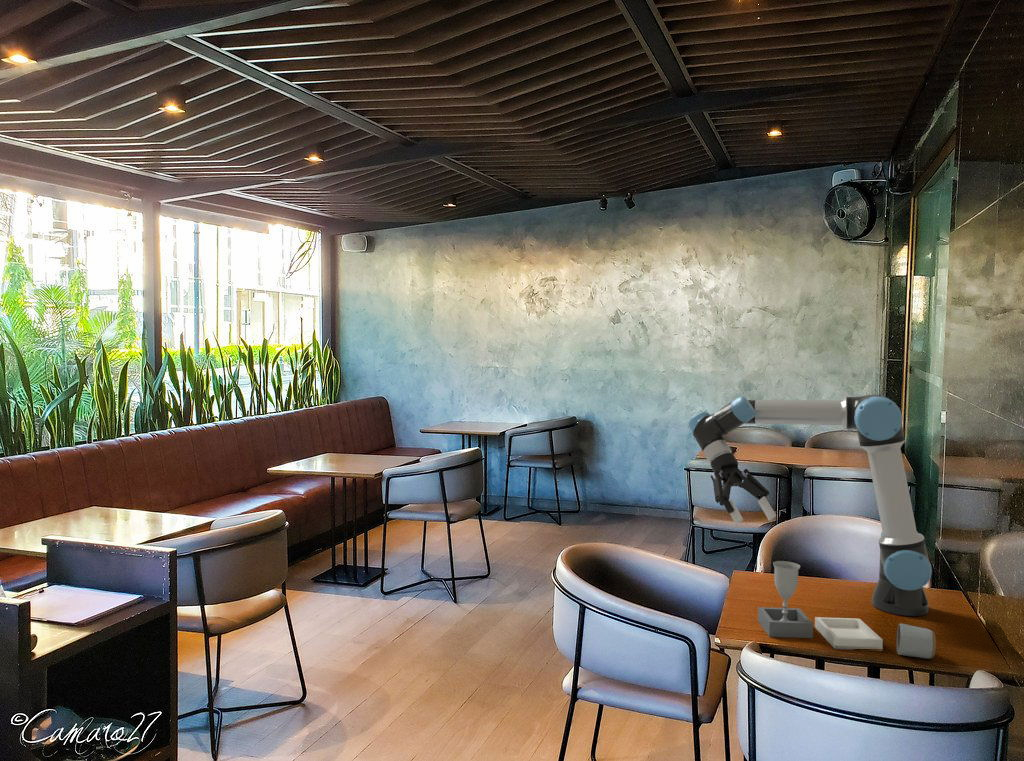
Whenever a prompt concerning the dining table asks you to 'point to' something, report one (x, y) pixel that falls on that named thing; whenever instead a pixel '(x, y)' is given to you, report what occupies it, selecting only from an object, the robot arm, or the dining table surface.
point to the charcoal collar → (785, 623)
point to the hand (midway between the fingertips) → (756, 520)
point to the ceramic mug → (915, 641)
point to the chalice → (785, 582)
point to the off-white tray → (848, 633)
